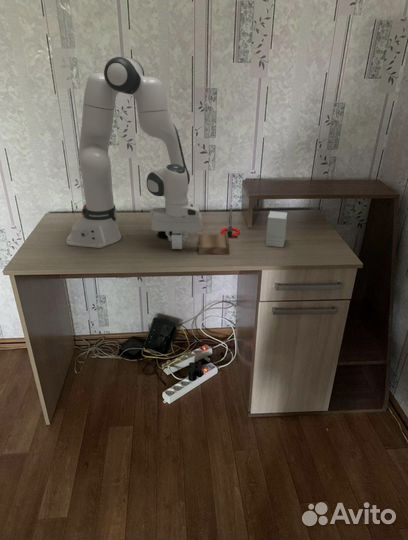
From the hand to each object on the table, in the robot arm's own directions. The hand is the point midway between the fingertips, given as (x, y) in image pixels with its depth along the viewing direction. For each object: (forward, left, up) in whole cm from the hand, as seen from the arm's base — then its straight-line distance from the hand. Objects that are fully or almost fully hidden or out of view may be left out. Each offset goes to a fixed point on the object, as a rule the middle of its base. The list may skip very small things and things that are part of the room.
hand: (177, 240), depth 163 cm
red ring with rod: (+23, +15, -4) cm, 27 cm away
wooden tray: (+15, +1, -3) cm, 15 cm away
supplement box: (+41, +5, -4) cm, 41 cm away
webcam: (-5, +13, -4) cm, 14 cm away
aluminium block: (0, 0, -2) cm, 2 cm away
